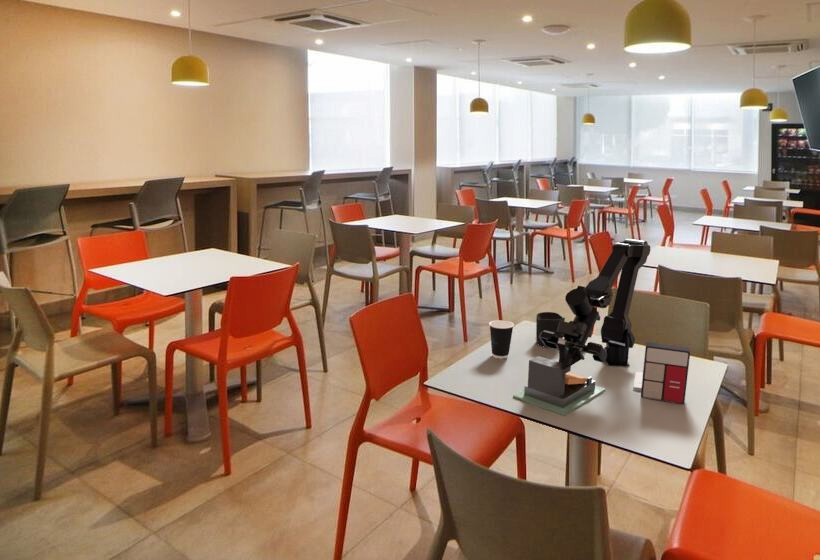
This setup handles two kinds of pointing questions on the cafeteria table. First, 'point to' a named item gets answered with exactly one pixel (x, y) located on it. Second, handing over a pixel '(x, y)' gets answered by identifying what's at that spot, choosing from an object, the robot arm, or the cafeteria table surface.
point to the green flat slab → (557, 409)
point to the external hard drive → (638, 381)
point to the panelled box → (665, 372)
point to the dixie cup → (500, 338)
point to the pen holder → (547, 324)
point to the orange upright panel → (574, 379)
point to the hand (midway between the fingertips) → (559, 371)
